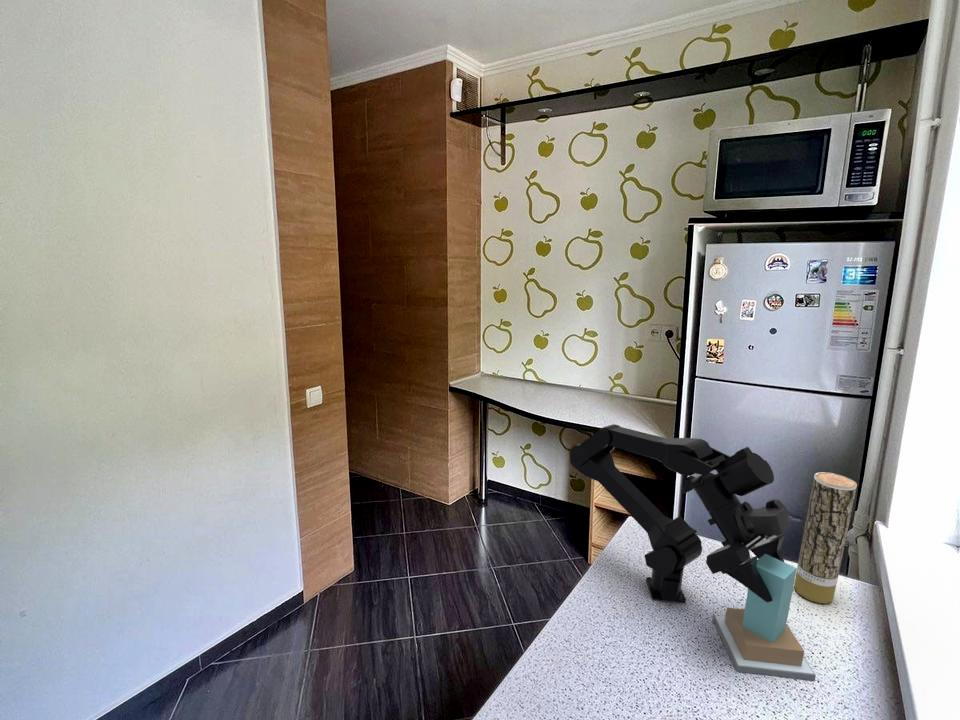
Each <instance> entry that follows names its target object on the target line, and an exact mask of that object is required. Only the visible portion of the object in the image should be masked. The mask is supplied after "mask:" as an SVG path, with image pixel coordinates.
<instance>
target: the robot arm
mask: <svg viewBox="0 0 960 720" xmlns="http://www.w3.org/2000/svg"><path fill="white" fill-rule="evenodd" d="M615 448H616V449H619V450H623V451H626V452H630V453H632V454H636V455H640V456H643V457H647V458H651V459H654V460H656V461H658V462H660V463H662V465H663V466H664V467H665V468H667V469H669V470H671V471H673V472H674V473H677V474H678V475H681V476H683V477H685V478H684V486H683V488H682V492H683V493H684V494H687V493H689V492H691V491H693V490H694V492H695V494H696V495H697V497H698V499H699V500H700V502H701V503H702V505H703V507H704V508H705V510H706V511H707V513H708V515H709V516H710V518H708V519H707V520H706V521H707V522H708V524H709V525H710V526H713V525H716V527H717V529H718V531H719V532H720V534H721V535H722V537H723V538H724V540H722V541H721V542H720V543H721V545H722V547H719V548H717V549H715V550H714V551H712V552H711V553H709V554H707V555H706V561H705V564H706V566H707V567H708V568H709V571H710V572H711V574H713V575H715V574H717V573H721V574H722V575H725V574H727V576H729V577H731V578H732V579H734V580H735V581H737V582H738V583H740V584H742V585H743V586H744V587H745V588H747V590H748V589H749V590H751V591H752V592H753V593H755V594H756V595H757V596H759V597H760V598H761V599H763V600H764V601H765V602H771V601H772V600H773V599H772V597H771V595H770V592H769V590H768V588H767V587H766V585H765V583H764V581H763V579H762V577H761V576H760V574H759V572H758V570H757V568H756V566H757V560H758V559H759V558H761V557H762V556H763V555H764V554H767V555H769V556H771V557H773V558H776V559H778V560H780V561H782V562H784V563H785V560H784V556H783V552H782V545H783V541H784V539H785V534H784V533H785V532H786V531H788V530H789V529H791V524H790V522H789V518H788V517H790V516H791V512H790V510H787V509H788V508H787V507H786V506H785V505H784V504H783V503H782V502H781V500H780V499H775V498H774V499H769V500H768V501H767V502H766V503H765V506H761V507H760V508H753V506H751V503H750V502H747V500H746V501H744V502H741V501H740V499H739V497H745V496H747V495H749V494H751V493H754V492H755V491H758V490H759V489H763V488H764V487H766V486H768V485H771V484H773V483H774V480H775V476H774V475H775V474H774V472H773V469H772V467H771V465H770V464H769V463H768V461H767V460H764V458H763V457H761V456H760V455H759V454H758V453H755V452H753V451H752V450H751V448H750V447H749V446H746V447H743V448H741V449H740V450H737V451H735V453H734V454H733V455H729V454H726V453H724V452H722V451H720V450H717V449H716V448H714V447H711V446H710V443H709V442H707V441H706V440H704V439H702V438H693V437H673V438H671V437H670V438H669V437H664V436H660V435H655V434H652V433H646V432H643V431H639V430H635V429H631V428H626V427H624V426H623V427H622V426H620V425H618V424H616V423H615V424H610V425H606V426H603V427H601V428H599V429H598V430H597V431H596V432H595V433H594V434H592V435H591V436H590V437H588V438H587V439H585V440H584V441H582V442H581V443H578V444H576V445H573V446H572V447H571V448H570V450H569V462H570V465H571V466H572V468H574V469H575V470H576V471H577V472H579V473H580V474H581V475H582V476H584V477H586V478H589V479H591V480H593V481H596V482H598V483H599V484H600V485H601V486H602V487H603V488H604V489H605V491H607V492H608V493H609V495H610V496H612V497H613V499H615V500H616V502H617V503H618V504H619V505H620V506H621V507H622V508H623V509H624V510H625V511H626V512H627V514H629V516H631V517H632V518H633V519H634V521H635V522H636V523H637V524H638V525H639V526H640V527H641V528H642V529H643V530H644V531H645V532H646V534H647V536H648V539H649V542H650V545H651V546H650V547H651V548H652V550H651V551H649V552H648V553H646V554H644V560H645V565H646V567H648V568H650V569H652V571H651V577H649V576H647V577H645V581H646V585H647V588H648V591H649V595H650V598H651V600H654V601H665V602H670V603H671V602H673V603H684V604H685V603H686V602H687V598H686V597H685V594H684V592H683V589H682V584H683V577H684V570H685V569H684V568H685V567H686V566H687V565H689V564H691V563H692V562H693V561H695V560H697V559H698V558H700V556H701V555H702V552H703V545H702V540H701V538H700V536H698V534H697V532H698V530H696V529H694V528H692V526H691V525H689V524H688V523H687V522H686V520H685V519H684V518H683V517H681V516H678V517H676V518H670V517H667V516H666V515H665V514H664V513H663V512H661V511H660V510H659V508H657V507H656V505H654V504H653V502H652V501H651V500H649V499H648V497H646V495H644V494H643V493H642V492H641V490H639V488H637V486H636V485H634V483H632V481H630V480H629V479H628V478H627V477H626V476H625V475H624V474H623V473H622V472H621V471H620V470H619V469H618V467H616V465H615V461H614V457H613V455H612V451H614V449H615ZM713 471H716V474H714V473H712V472H713ZM695 474H696V475H698V476H693V475H695ZM750 551H751V553H752V554H753V555H754V556H753V557H751V553H750Z"/></svg>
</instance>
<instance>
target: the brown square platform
mask: <svg viewBox="0 0 960 720" xmlns="http://www.w3.org/2000/svg"><path fill="white" fill-rule="evenodd" d="M744 611H745V608H737V607H736V608H735V607H726V611H725V615H717V614H716V615H715V614H713V615H712V622H713V623H714V626H715V629H716V630H717V632H718V634H719V636H720V639H721V641H722V644H723V645H724V647H725V649H726V652H727V653H728V655H729V658H730V660H731V662H732V665H733V667H734V669H735V671H736V672H737V673H746V674H753V675H754V674H755V675H764V676H772V677H780V678H789V679H798V680H807V681H813V682H814V681H816V677H817V675H816V673H815V672H814V670H813V669H812V667H811V665H810V664H809V663H808V661H807V659H806V658H805V656H804V655H805V650H804V648H803V646H802V645H801V643H799V642H800V641H798V639H797V637H796V636H795V635H794V633H793V632H792V630H791V629H790V627H789V625H788V624H787V623H786V629H785V631H784V632H783V633H782V634H781V635H780V636H779V637H778V638H777V640H776V641H775V642H774V643H771V642H769V641H768V640H766V639H764V638H762V637H761V636H759V635H757V634H755V633H754V632H752V631H750V630H748V629H747V628H745V627H743V626H742V623H743V617H744Z"/></svg>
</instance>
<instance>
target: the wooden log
mask: <svg viewBox="0 0 960 720" xmlns="http://www.w3.org/2000/svg"><path fill="white" fill-rule="evenodd" d="M811 485H812V486H811V491H810V497H809V503H808V508H807V511H806V518H805V525H804V529H803V534H802V540H801V545H800V550H799V555H798V556H799V557H798V562H797V566H796V568H797V570H796V575H795V580H794V586H793V588H794V589H795V591H796V592H797V593H798V594H799V595H800V596H802V598H805V599H807V600H808V601H811V602H813V603H817V604H828V603H831V602H832V601H833V600H834V597H835V592H836V590H837V589H836V588H837V584H838V580H839V576H840V575H839V574H840V571H841V570H840V569H841V566H842V565H841V564H842V561H843V556H844V550H845V546H846V541H847V537H848V531H849V526H850V522H851V517H852V512H853V508H854V507H853V506H854V501H855V497H856V492H857V486H858V484H857V482H856V481H854V480H853V479H851V478H849V477H847V476H844V475H841V474H838V473H833V472H827V471H826V472H825V471H822V472H816V473H814V476H813V481H812V484H811Z"/></svg>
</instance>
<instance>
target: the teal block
mask: <svg viewBox="0 0 960 720" xmlns="http://www.w3.org/2000/svg"><path fill="white" fill-rule="evenodd" d="M756 568H757V570H758V572H759V574H760V576H761V577H762V579H763V581H764V583H765V585H766V587H767V588H768V590H769V592H770V595H771V597H772V599H773V600H772V601H771V602H765V601H764V600H763V599H761V598H760V597H759V596H757V595H756V594H755V593H753V592H752V591H751V590H749V589H748V588H747V593H746V599H745V605H744V606H745V607H744V609H745V611H744V617H743V623H742V626H743V627H745V628H747V629H748V630H750V631H752V632H754V633H755V634H757V635H759V636H761V637H762V638H764V639H766V640H768V641H769V642H771V643H774V642H775V641H776V640H777V638H778V637H779V636H780V635H781V634H782V633H783V632H784V631H785V629H786V624H787V623H788V617H789V612H790V607H791V602H792V596H793V591H794V590H793V589H794V583H795V577H796V572H797V567H796V566H794V565H791V564H789V563H787V562H785V561H784V562H782V561H780V560H778V559H776V558H773V557H771V556H769V555H767V554H764V555H763V556H762V557H761V558H759V559H758V558H757V566H756Z"/></svg>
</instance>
